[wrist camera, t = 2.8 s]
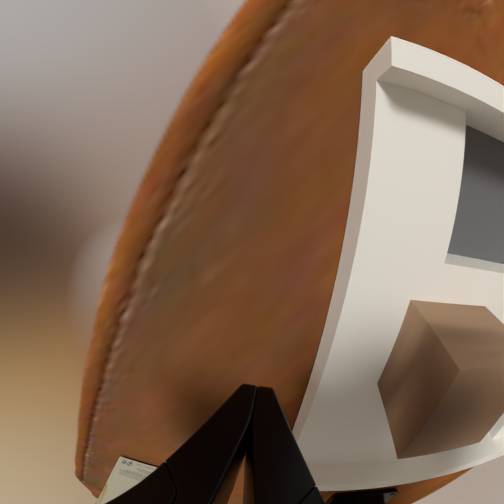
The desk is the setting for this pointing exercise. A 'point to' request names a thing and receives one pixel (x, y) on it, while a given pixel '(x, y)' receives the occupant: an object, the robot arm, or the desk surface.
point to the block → (443, 378)
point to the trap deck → (406, 257)
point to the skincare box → (124, 478)
